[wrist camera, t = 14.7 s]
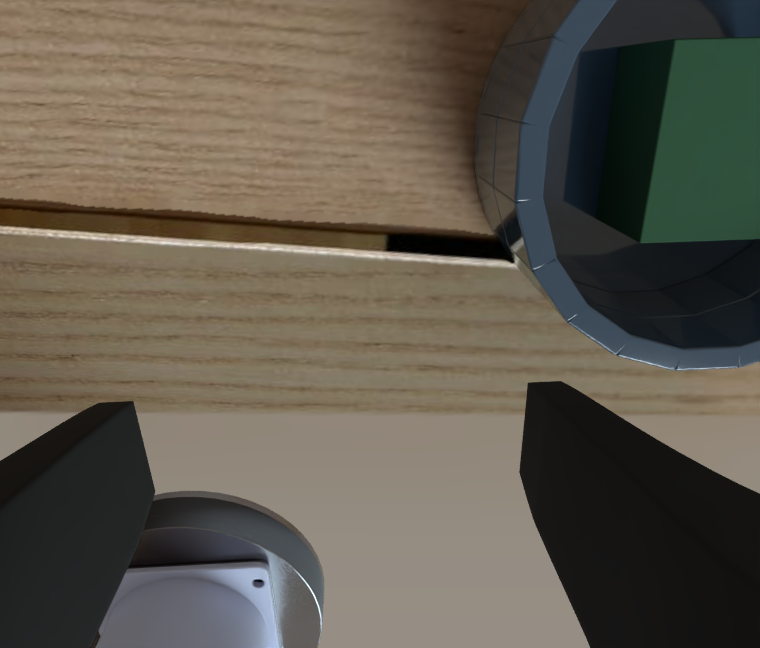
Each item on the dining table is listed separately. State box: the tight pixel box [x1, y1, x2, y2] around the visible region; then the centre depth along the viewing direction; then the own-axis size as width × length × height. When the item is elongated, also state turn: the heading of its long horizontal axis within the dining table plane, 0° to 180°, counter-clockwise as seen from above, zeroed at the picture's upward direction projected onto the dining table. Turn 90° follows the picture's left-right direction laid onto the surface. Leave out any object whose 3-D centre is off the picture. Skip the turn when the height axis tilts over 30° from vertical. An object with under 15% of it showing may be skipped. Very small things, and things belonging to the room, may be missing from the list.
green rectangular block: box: [596, 37, 760, 243], centre depth 15 cm, size 5×4×3 cm
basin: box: [474, 0, 760, 371], centre depth 15 cm, size 11×11×5 cm
